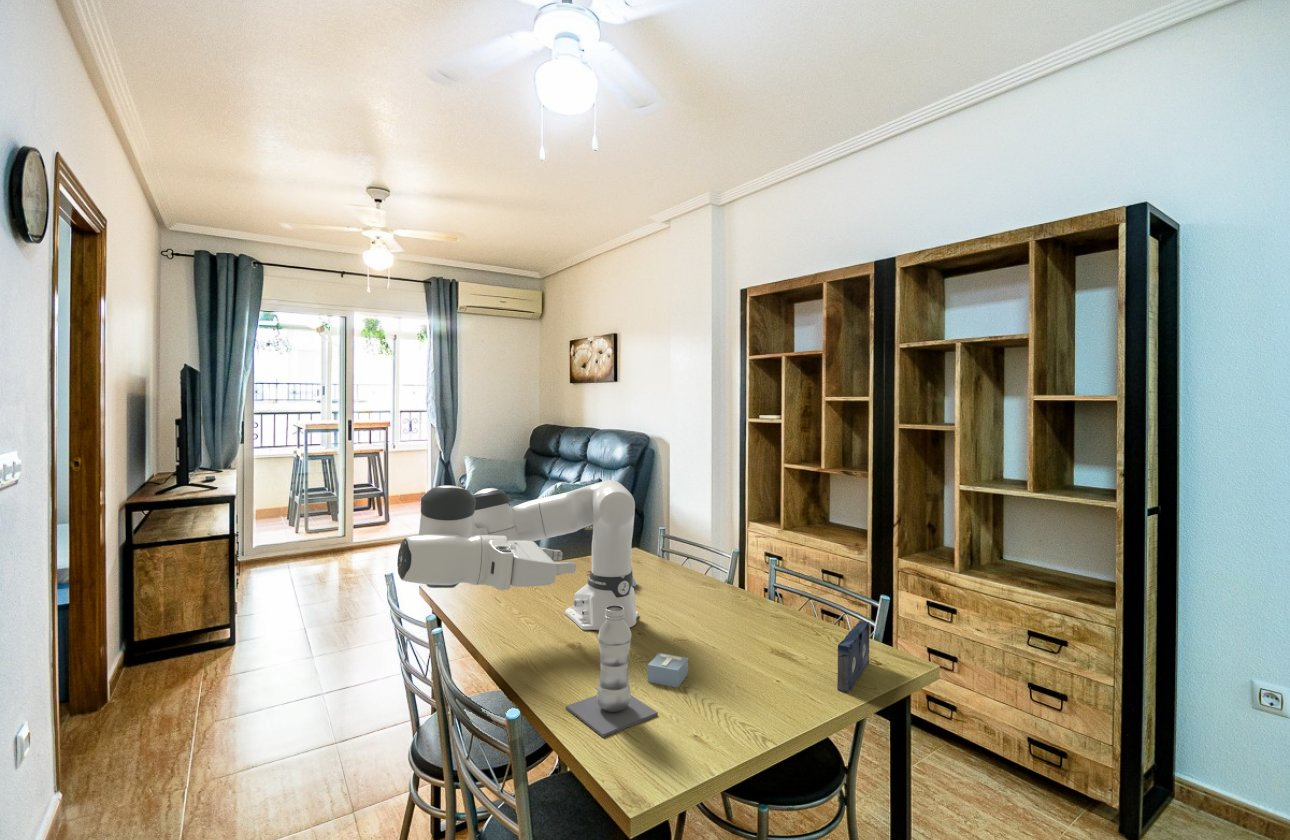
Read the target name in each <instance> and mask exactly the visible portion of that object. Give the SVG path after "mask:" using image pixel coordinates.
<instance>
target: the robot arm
mask: <svg viewBox="0 0 1290 840" xmlns="http://www.w3.org/2000/svg"><path fill="white" fill-rule="evenodd" d="M511 502H515V500H514V498H510V496H509V495H508V494H507V492H505V491H504V490H502V489H498V488H494V487H490V488H489V487H487V488H483V489H481V490H478V491H476V492H475V493H474V494H472V492H470V491H469V490H468V489H465V488H463V487H460V486H456V485H439V486H435V487H432V488H430V489H429V490H428V491H426V493H424V495H422V496H421V498H420V519H419V520H420V521H419V531H418V535H413V536H407V537H404V539H403V540H402V542H401V543H400V547H399V549H398V553H397V564H396V565H397V575H398V576H399V578H400V580H401V581H403V582H405V583H406V582H408V583H413V584H418V585H419V584H421V585H426V587H427V588H430V589H453V588H456V587H457V586H458V585H459V584H469V585H472V586H488V587H492V588H495V589H496V590H499V591H509V590H510V589H511V587H516V588H526V587H527V588H529V587H541V586H550V585H553V584H554V583H555V582H556V578H557V576H562V575H565V574H574V573H575V572H576V571H577V570H576V569H577V568H576V567H577V565H576V562H573V561H566V560H565V561H562V560H563V556H564V555H563V554H564V553H563V552H562V550H561V549H552V548H551V549H550V548H545V547H540V546H539V545H538V544H537V543H536V541H541V540H546V539H551V538H554V537H555V538H556V537H558V536H559V537H560V536H565V535H568V534H573V533H576V532H578V531H579V530H582V529H584V528H587V527H590V526H593V527H592V539H591V540H592V541H591V570H589V571H588V570H587V571H586V573H587V574H586V576H588V579H587V582H586V584H585V585H583V586H582V587H581V588H579V589H578V590H577V591H576V592H575V593H574V596H573V605H572V606H570V607H568V608H566V609H565V610H564V611H565V612H564V613H565V615H566V616H567V617H568V618H569V619H571V621H572V622H574V623H575V625H576V626H578V627H579V628H580V629H581V630H584V631H590V630H591V631H593V630H595V631H599V630H600V628H601V627H602V625H603V624H604V622H605V621H606V618H605V608H606V607H607V606H611V605H619V606H622V607H624V614H625V618H624V619H623V620H624V621H625V623H626V624H627V625H628V627H629V628H632V627H634V626H636V624H637V619H638V617H639V616H640V615H639V611H637V608H636V607H637V606H636V594H635V589H634V586H632V584H633V578H634V575H633V573H634V572H633V571H631V566H632V544H633V543H632V540H633V533H634V525H635V524H634V523H635V512H636V511H635V510H636V502H635V499H634V496H633V494H632V493H631V492H630V491H629V490H628V489H627V488H626V487H625V486H624V485H623V484H622V483H620V482H619V481H616V480H613V479H609V480H607V479H606V480H603V481H600V482H599V481H598V482H595V483H592V484H589V485H586V486H582V487H579V488H576V489H572V490H570V491H565V492H563V493H557V494H553V495H549V496H545V497H540V498H535V499H532V500H531V499H530V500H528V501H524V502H522V503H520V504H517V505H514V506H511V504H510V503H511ZM558 561H559V562H558ZM560 561H562V562H560Z"/></svg>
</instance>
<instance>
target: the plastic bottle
mask: <svg viewBox="0 0 1290 840" xmlns="http://www.w3.org/2000/svg"><path fill="white" fill-rule="evenodd" d="M605 618H606V621H605V622H604V624H603V625H602V627H601V628H600V630H598V635H597V639H598V648H599V657H600V658H599V659H600V672H599V678H598V679H599V681H598V686H597V691H596V695H597V702H598V705H599V706H600V708H601V709H602V710H604V711H608V712H618V711H622V710H624V709H625V708H626V707H627V706H628V704H629V701H630V695H632V694H631V687H630V683H629V680H630V679H629V655H630V654H629V653H630V647H631V643H632V642H631V640H632V631H631V629H630V628H631V627H630V628H629V627H628V625H627V624H626V623H625V621H624V620H623V619H624V618H625V614H624V607H622V606H619V605H611V606H607V607H606V608H605Z"/></svg>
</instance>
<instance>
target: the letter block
mask: <svg viewBox="0 0 1290 840" xmlns="http://www.w3.org/2000/svg"><path fill="white" fill-rule="evenodd" d="M688 674H689V657H685V656H679V655H674V654H668V653H664V652H659V653H657V654H656V655H655V657H653V659H652V660H651V661H650V662H649V663H648V664H647V683H653V684H658V685H663V686H666V685H667V686H666V687H671V686H672V688H676V687H677V688H678V689H679V687H680V686H681V685H682V683H683V681H684V680H685V679H686V678H687V676H688ZM685 677H686V678H685Z"/></svg>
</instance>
